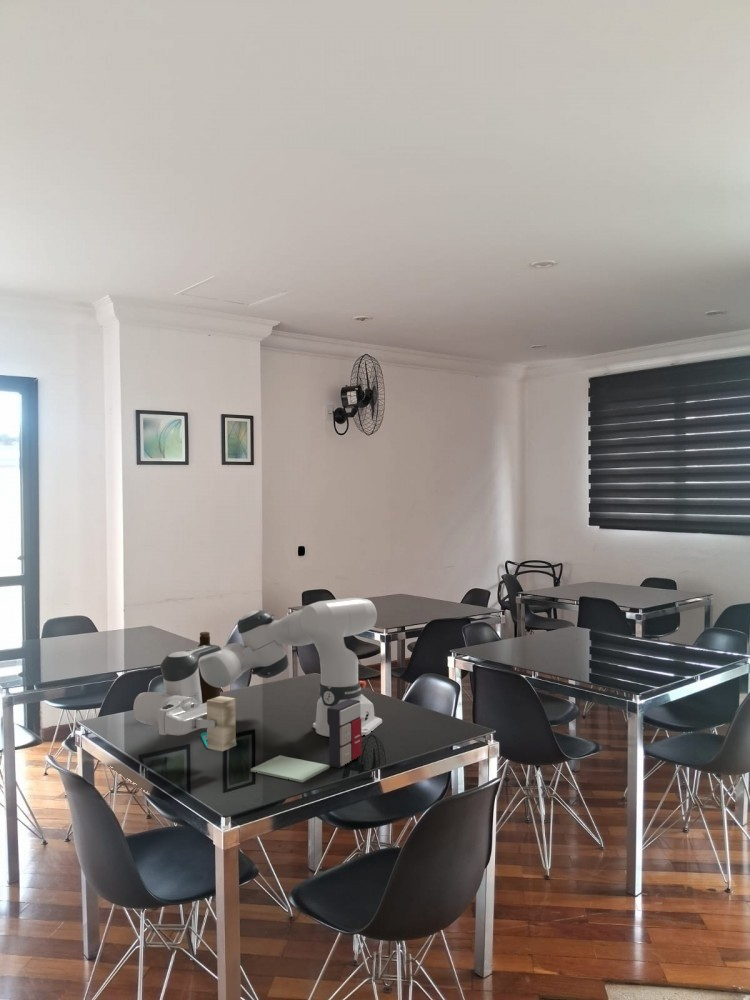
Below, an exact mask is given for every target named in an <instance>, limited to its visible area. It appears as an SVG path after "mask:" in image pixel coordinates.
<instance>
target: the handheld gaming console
mask: <svg viewBox="0 0 750 1000" xmlns="http://www.w3.org/2000/svg"><path fill="white" fill-rule="evenodd" d="M200 738H201V740H202V742H203V744H204V746H205V748H206V749H207V731H205V732H202V733H200ZM237 745H238V742H236V746H237Z"/></svg>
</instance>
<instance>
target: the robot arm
mask: <svg viewBox="0 0 750 1000" xmlns="http://www.w3.org/2000/svg"><path fill="white" fill-rule="evenodd" d="M275 617H276V615H275V614H273V613H272V614H270V613H269V612H268V611H264V610H261V609H259V610H252V611H249V612H247V613H245V614H244V615H243V616H241V618H240V619H239V620H238V622H237V624H236V625H237V630H238V634H240V637H241V640H242V643H243V644H241V643H239V642H232V643H229V644H225V645H223V646H220V645H216V644H211V645H205V646H200V647H198V646H197V647H194V648H190V649H187V650H183V651H175V652H172V653H169V654H167V655H166V656H165V658H164V659H162V662H161V663H160V670H161V676H162V680H163V688H164V689H163V690H164V692H157V691H156V692H155V691H147V692H146V691H144V692H141V693H139V694H138V695H136V697H135V699H134V702H133V707H132V708H133V709H132V710H133V715H134V718H135V719H136V721H138V722H140V723H142V724H144V725H148V726H150V727H155V728H158V733H159V735H161V736H167V735H172V736H184V735H187V734H189V733H192V732H195V731H197V730H200V729H207V728H214V727H217V720H214V719H211V720H207V702H206V703H203V704H202V694H201V686H200V677H199V667H200V672H201V675H202V677H203V679H204V680H205V681H206V682H207V683H208V684H209V685H211V686H213V687H217V688H220V689H222V688H226V687H228V686H230V685H232V684H234V683H235V682H236V681H237V680H238V679H239V678H240V677H241V676H242V675H243V674H244V673H245V672H247V671H248V670H252V671H250V674H251V675H253V676H254V675H256V676H258V677H259V678H262V679H273V678H276V677H279V676H280V675H282V673H283V672H285V670H287V669H288V667H289V665H290V664H289V657H288V655H287V654H286V651H285V648H284V646H283V645H286V646H291V647H302V646H307V645H311V644H314V646H315V648H316V650H317V652H318V656H319V664H320V683H319V688H318V691H319V697H320V698H318V700H317V702H316V714H315V722H313V724H312V728H313V729H314V730H315V732H316V734H318V735H320V736H323V737H328V738H329V725H328V723H327V709H328V708H329V707H331V706H334V705H336V704H338V703H341V702H343V701H345V700H347V699H352V700H359V701H360V710H361V715H360V718H361V737H362V736H363V735H365V736H368V735H369V734H370V733H372V732H371V731H374V730H375V729H376V728H378V726H380V725H381V724H382V723H383V719H382V718H381V717H378V716H375V708H374V707H375V706H374V704H373V703H372V702H371V701H370V700H369V699H368V698H367V697H366V696H364V694H363V691H362V689H365V688H366V686H367V683H366V681H365V680H364V681H362V680H359V658H358V656H357V654H356V653H355V652H354V651H352V650H351V649H349V648H347V646H346V644H345V639H344V638H345V637H346V638H347V637H351V636H355V635H360V634H362V633H364V632H367V631H369V630H372V629H373V628H374V627H375V625H376V623H377V619H378V613H377V608H376V606H375V604H374V603H373V601H371V600H370V599H367V598H361V597H348V598H347V597H346V598H339V599H329V600H328V599H327V600H319V601H316V602H312V603H310V604H308V605H306V606H304V607H303V608H302V609H299V610H297V611H293V612H291V613H289V614H287V615H285V616H283V617H282V618H281V619H278V620H277V619H275ZM363 737H364V736H363Z"/></svg>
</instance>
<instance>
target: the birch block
mask: <svg viewBox="0 0 750 1000" xmlns="http://www.w3.org/2000/svg"><path fill="white" fill-rule="evenodd" d="M211 719H214V720H217V727H214V728H206V732H207V748H208V749H209V750H213V751H219V752H224V751H227V750H229V749H231V748H233V747H236V746H237V745H236V743H237V736H236V731H237V730H236V728H237V727H236V726H237V724H236V698H235V697H230V696H222V695H220V696H219V697H216V698H213V699H210V700H207V720H211ZM207 748H206V749H207Z"/></svg>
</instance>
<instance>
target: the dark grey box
mask: <svg viewBox="0 0 750 1000" xmlns="http://www.w3.org/2000/svg"><path fill="white" fill-rule="evenodd" d="M360 715H361V710H360V701H359V700H352V699H347V700H345V701H343V702H341V703H338V704H336V705H334V706H331V707H329V708H328V709H327V723H328V725H329V737H328V738H329V739H328V741H329V744H328V745H329V746H328V747H329V749H328V751H329V765H330V767H331V768H337V769H341V768H342V767H344V766H346V765H348V764H349V763H351V762H352V760H353V761H354V759H355V760H356V759H358V758H360V757H361V756H362V736H361V718H360ZM359 756H360V757H359ZM357 757H358V758H357ZM350 761H351V762H350ZM347 763H348V764H347ZM345 764H346V765H345Z"/></svg>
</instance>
